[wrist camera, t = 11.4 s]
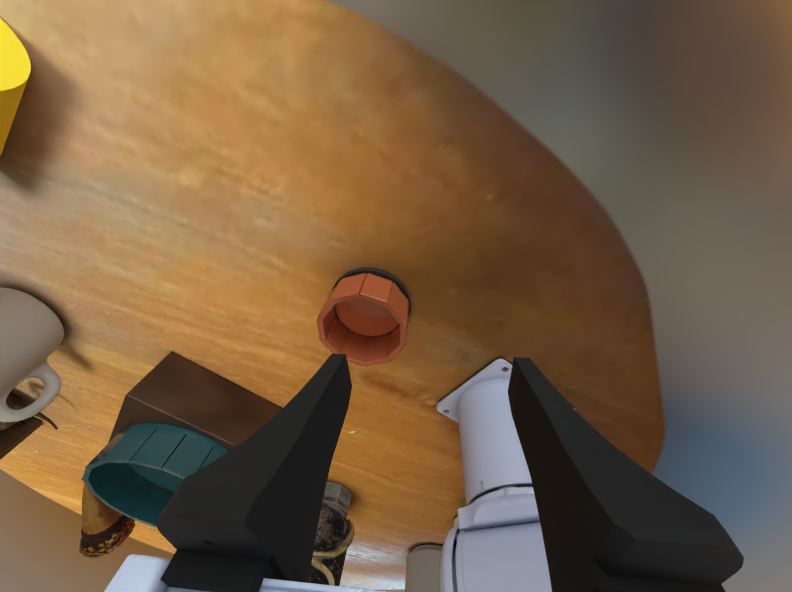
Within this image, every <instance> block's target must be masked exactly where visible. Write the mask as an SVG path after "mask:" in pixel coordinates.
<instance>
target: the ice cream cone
mask: <svg viewBox="0 0 792 592" xmlns="http://www.w3.org/2000/svg"><path fill="white" fill-rule="evenodd" d="M82 480H83V478H82ZM83 481H84V480H83ZM134 526H135V523H134V519H132V518H129V517H127V516H125V515H124V514H122V513H120V512H118V511H116V510H114V509H112V508H110V507H109V506H107V505H106V504H105V503H103V502H102V501H101V500H100V499H99V498H97V497H96V496H95V495H94V494H92V493H91V492H90V490H89V488H88V487H87V485H86V483H85V481H84V488H83V498H82V530H81V533H82V538H81V543H80V548H79V552H80V553H81V554H83V555H84V556H86V557H90V558H98V557H101V556H104V555H107V554H109V553H111V552H113V551H114V550H115V549H116V548H118V547H119V546H120V545H121V544H122V543H123V542H124V541H125V539H126V538H127V537H128V536H129V535H130V534H131V532H132V531H133V528H134Z"/></svg>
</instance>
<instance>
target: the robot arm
mask: <svg viewBox="0 0 792 592" xmlns="http://www.w3.org/2000/svg"><path fill="white" fill-rule="evenodd" d="M504 367H507V368H504ZM351 389H352V384H351V379H350V373H349V368H348V363H347V357H346V354H332V355H331V356H330V357H329V358H328V359H327V360H326V362H325V363H324V364H323V365H322V367H321V368H320V369H319V370H318V371H317V372H316V374H315V375H314V376H313V377H312V378H311V379H310V381H309V382H308V383H307V384H306V385H305V386H304V387H303V388H302V389H301V391H300V392H299V393H298V394H297V395H296V396H295V397H294V398H293V399H292V400H291V401H290V402H289V403H288V404H287V405H286V406H285V407H284V408H283V409H282V410H281V411H280V412H278V413H277V414H276V415H275V416H274V417H273V418H272V419H271V420H269V421H268V422H267V423H266V424H265V425H263V426H262V427H261V428H260V429H259V430H257V431H256V432H255V433H253V434H252V435H251V436H249V437H248V438H247V439H246V440H244V441H243V442H242V443H240V444H239V445H237V446H236V447H234V448H233V449H231V450H230V451H228V452H227V453H225V454H224V455H222V456H221V457H219V458H218V459H216V460H215V461H213V462H211V463H210V464H208V465H206V466H205V467H203V468H201V469H200V470H198V471H196V472H195V473H193V474H191V475H189V476H188V477H186V478H184V480H183V481H182V483H181V484H180V485H179V487H178V488H177V489H176V491H175V493H174V494H173V496H172V497H171V499H170V500H169V502H168V503H167V505H166V506H165V508H164V509H163V511H162V513H161V514H160V516H159V517H158V519H157V521H156V523H157V528H158V530H159V531H160V533H161V534H162V535H163V536H164V537H165V538H166V539H167V540H168V541H169V542H170V543H171V544H172V545H173V546H174V547H175V548H176V549H177V551H176V553H175V554H174V556H173V558H172V560H171V561H170V560H168V559H165V558H161V557H154V556H144V555H135V554H131V555H129V556H128V557H127V558H126V560H125V561H124V563H123V564H122V566H121V567H120V569H119V570H118V572H117V573H116V575H115V576H114V577H113V579H112V580H111V582H110V583H109V585H108V587H107V588H106V589H105V591H104V592H387V591H380V590H370V589H361V588H351V587H342V586H333V585H323V584H314V583H309V576H310V570H311V563H312V557H313V551H314V545H315V539H316V534H317V528H318V523H319V517H320V512H321V507H322V502H323V497H324V492H325V487H326V482H327V478H328V473H329V469H330V465H331V461H332V457H333V454H334V451H335V448H336V445H337V441H338V438H339V435H340V432H341V429H342V426H343V422H344V419H345V416H346V413H347V409H348V405H349V400H350V395H351ZM436 409H437V411H439V412H440V413H442V414H444V415H445V416H447V417H449V418H450V419H452V420H454V421H456V422H457V423H459V433H460V444H461V456H462V467H463V478H464V489H465V501H466V506H465V507H462V508H458V509H457V510H458V525H459V526H457V527H453V528H451V529H450V530H449V532H448V534H447V536H446V539H445V542H444V544H443V547H442V551H441V556H440V567H439V580H440V592H725V590H724V588H723V587H722V585H721V584H722V583H723V582H724V581H726V580H727V579H728V578H729V577H731V576H732V575H733V574H735V573H736V572H737V571H738V570H739V569H740V568H741V567H742V565H743V560H744V557H743V556H742V554H741V553H740V551H739V550H738V548H737V547H736V545H735V544H734V542H733V541H732V539H731V538H730V536H729V535H728V533H727V532H726V530H725V529H724V528H723V526H722V525H721V524H720V523H719V521H718V520H717V519H716V517H715V516H714V515H713V514H711V513H709V512H708V511H706V510H705V509H703V508H702V507H700V506H698V505H697V504H695V503H694V502H692V501H691V500H689V499H687V498H685V497H684V496H682V495H681V494H679V493H677V492H676V491H675V490H673V489H672V488H670V487H669V486H667V485H666V484H664V483H663V482H662V481H660V480H659V479H657V478H656V477H654V476H653V475H651V474H650V473H649V472H647V471H646V470H645V469H643V468H642V467H640V466H639V465H638V464H637V463H635V462H634V461H633V460H631V459H630V458H629V457H627V456H626V455H625V454H624V453H622V452H621V451H620V450H618V449H617V448H616V447H615V446H614V445H612V444H611V443H610V442H609V441H608V440H606V439H605V438H604V437H603V436H602V435H601V434H600V433H598V432H597V431H596V430H595V429H594V428H593V427H592V426H591V425H590V424H589V423H588V422H587V421H585V420H584V419H583V418H582V417H581V416H580V415H579V414H578V413H577V412H576V410H575V409H574V408H573V407H572V406H571V405H570V404H569V403H568V402H567V401H566V400H565V399H564V398H563V397H562V396H561V395H560V393H559V392H558V391H557V390H556V389H555V388H554V387H553V386H552V384H551V383H550V382H549V381H548V380H547V379H546V377H545V376H544V375H543V374H542V373H541V371H540V370H539V369H538V368H537V366H536V365H535V364H534V363H533V361H532V360H531V359H530V358H514V360H513V365H511V364H510V363H508V362H507V361H505V360H504V359H497V360H495V361H494V362H493V363H491V364H490V365H489V366H487V367H486V368H484V369H483V370H482V371H480V372H479V373H478V374H476V375H475V376H474V377H472V378H471V379H470V380H468V381H467V382H466V383H464V384H463V385H462V386H460V387H459V388H458V389H456V390H455V391H454V392H452V393H451V394H450V395H448V396H447V397H446V398H444V399H443V400H442V401H440V402H439V403H438V404H437V405H436ZM388 592H389V591H388Z"/></svg>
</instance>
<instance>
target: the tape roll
mask: <svg viewBox="0 0 792 592" xmlns="http://www.w3.org/2000/svg"><path fill="white" fill-rule="evenodd" d="M30 71H31V64H30V59H29V56H28V54H27V52H26V50H25V48H24V46H23V45H22V43H21V42H20V40H19V39H18V37H17V36H16V35H15V33H14V32H13V31H12V30H11V29H10V28H9V26H8V25H7V24H6V23H5V22H4V21H3V20H2V19H1V18H0V156H1V154H2V151H3V148H4V145H5V142H6V140H7V137H8V134H9V131H10V128H11V125H12V123H13V120H14V117H15V114H16V111H17V109H18V106H19V103H20V100H21V97H22V94H23V92H24V89H25V86H26V83H27V80H28V78H29V75H30Z"/></svg>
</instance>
